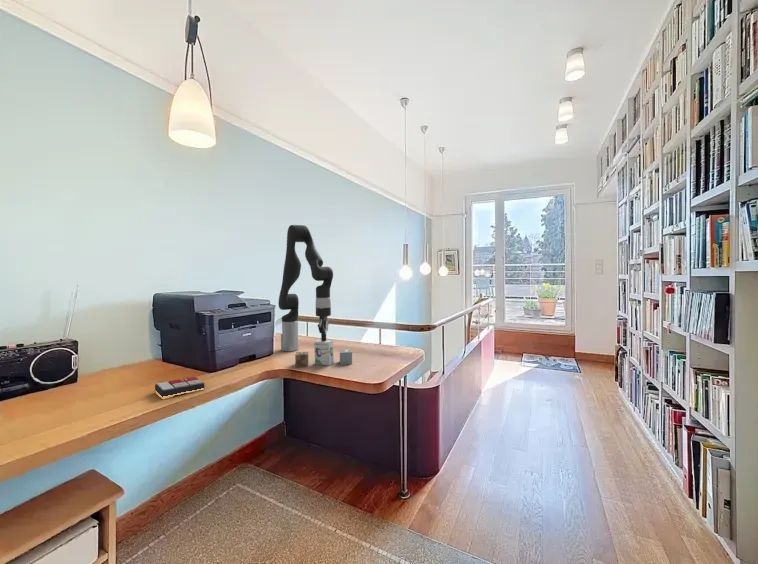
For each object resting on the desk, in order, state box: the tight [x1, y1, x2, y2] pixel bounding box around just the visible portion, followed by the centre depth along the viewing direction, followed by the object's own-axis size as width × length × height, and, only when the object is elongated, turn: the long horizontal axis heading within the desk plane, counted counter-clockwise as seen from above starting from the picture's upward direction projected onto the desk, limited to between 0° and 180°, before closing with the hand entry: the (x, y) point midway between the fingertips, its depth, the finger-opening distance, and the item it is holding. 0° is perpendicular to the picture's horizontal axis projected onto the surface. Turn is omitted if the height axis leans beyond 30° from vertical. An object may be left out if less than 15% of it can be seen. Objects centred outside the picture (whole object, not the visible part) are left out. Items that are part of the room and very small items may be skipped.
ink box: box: [313, 339, 335, 366], centre depth 176 cm, size 9×5×12 cm, turn 73°
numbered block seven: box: [339, 349, 353, 365], centre depth 178 cm, size 6×6×6 cm
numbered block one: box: [294, 351, 310, 368], centre depth 174 cm, size 6×6×6 cm
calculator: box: [154, 376, 205, 397], centre depth 139 cm, size 11×4×15 cm
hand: (323, 340), depth 176 cm, fingers closed
